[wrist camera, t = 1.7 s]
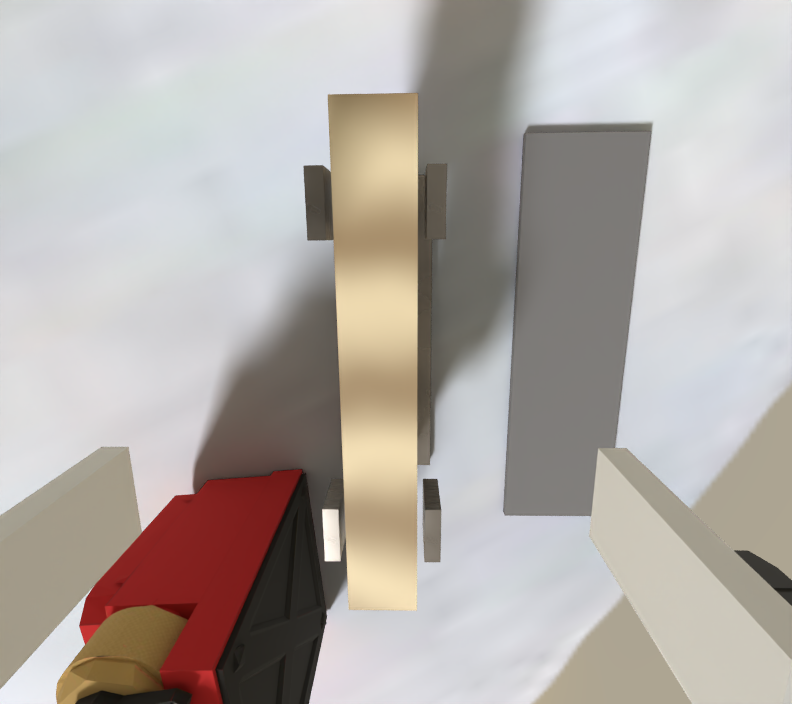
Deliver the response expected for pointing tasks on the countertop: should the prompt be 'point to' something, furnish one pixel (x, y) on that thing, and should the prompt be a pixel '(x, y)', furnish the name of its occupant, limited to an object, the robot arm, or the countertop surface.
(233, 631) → the red coffee machine
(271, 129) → the countertop surface
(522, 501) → the mat
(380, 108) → the rail
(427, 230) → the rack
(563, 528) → the countertop surface
